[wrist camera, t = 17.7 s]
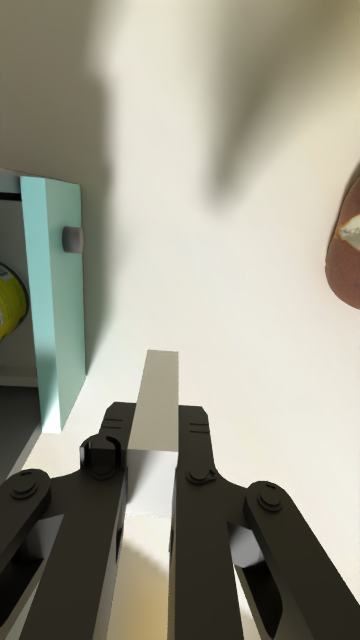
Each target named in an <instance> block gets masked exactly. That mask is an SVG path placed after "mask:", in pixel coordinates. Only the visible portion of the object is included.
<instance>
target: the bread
mask: <svg viewBox="0 0 360 640" xmlns="http://www.w3.org/2000/svg"><path fill="white" fill-rule="evenodd" d="M329 246H330V247H329V250H328V253H327V256H326V266H325V273H326V278H327V281H328V284H329V286H330V288H331V289H332V291H333V292H334V293H335V295H336V296H337V297H338V298H339V299H341V300H342V301H343V302H345V303H346V304H348V305H350V306H352V307H354V308H357V309H360V176H359V178H358V179H357V180H356V181H355V183H354V184H353V185H352V187H351V189H350V190H349V192H348V194H347V196H346V198H345V200H344V203H343V206H342V209H341V212H340V216H339V220H338V224H337V227H336V230H335V234H334V236H333V238H332V240H331V242H330V245H329Z"/></svg>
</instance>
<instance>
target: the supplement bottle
mask: <svg viewBox="0 0 360 640" xmlns="http://www.w3.org/2000/svg"><path fill="white" fill-rule="evenodd" d="M29 308H30V295H29V290H28V288H27V285H26V283H25V282H24V280H23V279H22V277H21V276H20V275H19V274H18V272H17V271H15V270H14V269H13V268H12V267H11V266H9V265H8V264H6V263H4V262H2V261H0V342H1V341H2V340H3V339H5V338H6V337H7V336H8V335H9V334H10V333H11V332H13V331H14V330H15V329H16V328H17V327H18V326H19V325H20V324H21V323H22V322H23V321H24V320H25V318H26V316H27V315H28V312H29Z"/></svg>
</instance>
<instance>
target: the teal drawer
mask: <svg viewBox="0 0 360 640" xmlns="http://www.w3.org/2000/svg"><path fill="white" fill-rule="evenodd" d="M20 183H21V195H22V200H12V199H0V261H2V262H4V263H6V264H8V265H9V266H11V267H12V268H13V269H14V270H15V271H17V272H18V274H19V275H20V276H21V277H22V279H23V280H24V282H25V283H26V285H27V288H28V290H29V295H30V308H29V312H28V315H27V316H26V318H25V320H24V321H23V322H22V323H21V324H20V325H19V326H18V327H17V328H16V329H15V330H14V331H13V332H11V333H10V334H9V335H8V336H7V337H6V338H5V339H3V340H2V341H1V342H0V385H3V386H24V387H38V388H39V399H40V411H41V422H42V432H45V433H61V432H62V429H63V427H64V425H65V423H66V421H67V419H68V416H69V414H70V412H71V410H72V408H73V406H74V403H75V401H76V399H77V397H78V395H79V393H80V390H81V388H82V386H83V384H84V382H85V380H86V374H85V337H84V300H83V263H82V252H83V248H84V233H83V229H82V225H81V188H80V185H77V184H72V183H67V182H62V181H57V180H52V179H47V178H38V177H27V176H20Z"/></svg>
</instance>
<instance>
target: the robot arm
mask: <svg viewBox="0 0 360 640" xmlns="http://www.w3.org/2000/svg"><path fill="white" fill-rule="evenodd" d="M125 511H126V513H125ZM125 515H127V516H146V517H164V518H171V532H170V542H169V552H170V560H169V596H168V633H167V640H244V636H243V629H242V622H241V615H240V609H239V602H238V595H237V588H236V582H235V575H234V568H233V564H234V567H235V570H236V572H237V575H238V578H239V580H240V583H241V586H242V589H243V591H244V594H245V597H246V599H247V602H248V605H249V607H250V610H251V613H252V616H253V618H254V621H255V624H256V626H257V629H258V632H259V634H260V637H261V640H360V605H359V603H358V602H357V600H356V599H355V597H354V596H353V594H352V593H351V591H350V589H349V588H348V586H347V585H346V583H345V582H344V580H343V578H342V577H341V575H340V574H339V572H338V571H337V569H336V568H335V566H334V564H333V563H332V561H331V560H330V558H329V557H328V555H327V553H326V552H325V550H324V549H323V547H322V546H321V544H320V543H319V541H318V539H317V538H316V536H315V535H314V533H313V532H312V530H311V528H310V527H309V525H308V524H307V522H306V521H305V519H304V518H303V516H302V514H301V513H300V511H299V510H298V508H297V507H296V505H295V503H294V502H293V500H292V499H291V497H290V496H289V495H288V494H287V492H286V491H285V490H284V489H282V488H281V487H279V486H278V485H276V484H274V483H271V482H268V481H257V482H254V483H252V484H251V485H250V486H249V487H248V488H244V487H241V486H238V485H236V484H233V483H231V482H229V481H227V480H226V479H224V478H223V477H222V476H221V475H220V474H219V473H218V470H217V469H216V468H215V464H214V458H213V451H212V444H211V436H210V429H209V422H208V415H207V414H206V412H205V411H204V409H203V408H202V407H200V406H185V405H178V352H173V351H159V350H148V351H147V356H146V361H145V366H144V370H143V375H142V380H141V385H140V390H139V395H138V400H137V403H126V402H114V403H113V404H112V405H111V406H110V407H109V408H107V410H106V413H105V415H104V418H103V421H102V424H101V428H100V430H99V433H98V434H96V435H93V436H90V437H89V438H87V439H86V440H85V441H84V442H83V443H82V444H81V446H80V469H79V470H78V471H76V472H74V473H72V474H68V475H65V476H60V477H56V478H51V479H50V477H49V476H48V474H47V473H46V472H44V471H42V470H40V469H27V470H22V471H20V472H17V473H15V474H13V475H11V476H10V477H9V478H8V479H7V480H5V481H4V482H3V483H2V484H1V485H0V640H5V638H6V636H7V635H8V633H9V631H10V630H11V628H12V626H13V625H14V623H15V621H16V619H17V618H18V616H19V614H20V613H21V611H22V609H23V608H24V606H25V604H26V603H27V601H28V599H29V597H30V596H31V594H32V592H33V591H34V589H35V587H36V586H37V584H38V582H39V580H40V582H39V585H38V588H37V591H36V593H35V596H34V599H33V602H32V604H31V607H30V610H29V613H28V615H27V618H26V621H25V624H24V626H23V629H22V632H21V635H20V637H19V640H106V637H107V631H108V625H109V619H110V612H111V606H112V600H113V594H114V588H115V582H116V576H117V569H118V563H119V557H120V551H121V545H122V539H123V530H124V517H125Z"/></svg>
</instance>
